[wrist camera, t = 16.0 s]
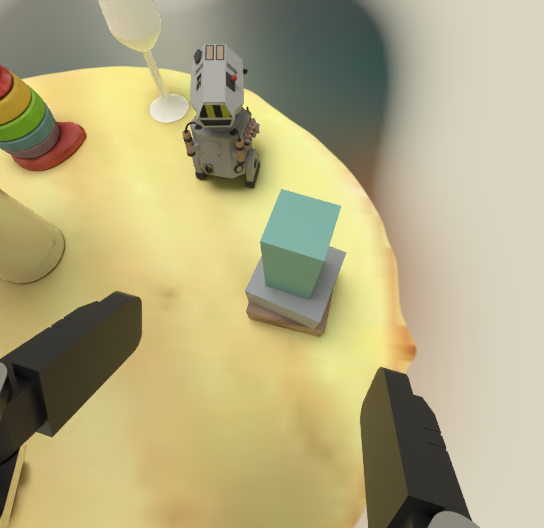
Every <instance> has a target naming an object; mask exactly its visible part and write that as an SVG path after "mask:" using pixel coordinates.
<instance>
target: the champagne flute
mask: <svg viewBox="0 0 544 528" xmlns="http://www.w3.org/2000/svg"><path fill="white" fill-rule="evenodd" d="M98 1H99V4H100V6H101V9H102V11H103V14H104V17H105V19H106V22H107V24H108V27H109V29H110V31H111V33H112V34H113V35H114V37H115V38H117V39H118V40H119V41H121V43H123V44H125V45H126V46H128V47H130V48H132V49H135V50H137V51H140V52H143V55H144V57H145V59H146V62H147V64H148V67H149V69H150V72H151V74H152V76H153V79H154V81H155V84H156V86H157V89H158V91H159V93H160V97H158V98H156V99H155V100H154V101H153V102H152V104H151V106H150V115H151V116H152V118H154V119H155V120H157V121H159V122H163V123H170V122H174V121H177V120H179V119H181V118H182V117H184V115H185V114H186V113H187V111H188V108H189V104H188V101H187V100H186V99H185V98H184V97H183V96H181V95H178V94H167V91H166V89H165V86H164V84H163V81H162V78H161V76H160V73H159V71H158V68H157V65H156V63H155V60H154V58H153V55H152V52H151V50H150V49H152V47H153V46H154V44H155V43H156V41H157V39H158V37H159V34H160V30H161V16H160V14H159V11H158V9H157V6H156V4H155V1H154V0H98Z"/></svg>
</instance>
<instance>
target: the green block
mask: <svg viewBox="0 0 544 528" xmlns="http://www.w3.org/2000/svg"><path fill="white" fill-rule="evenodd" d="M340 208H341V206H339V205H336V204H332V203H329V202H325V201H322V200H318V199H315V198H311V197H308V196H304V195H301V194H297V193H294V192H290V191H287V190H283V189H281V191H280V194H279V196H278V199H277V201H276V204H275V206H274V209H273V211H272V213H271V216H270V218H269V221H268V223H267V226H266V228H265V231H264V233H263V236H262V238H261V241H260V243H261V252H262V261H263V270H264V279H265V285H267V286H270V287H273V288H276V289H279V290H282V291H285V292H288V293H291V294H294V295H297V296H300V297H303V298H306V299H309V298H310V296H311V293H312V291H313V288H314V286H315V283H316V281H317V278H318V275H319V273H320V270H321V268H322V265H323V263H324V260H325V257H326V254H327V250H328V247H329V244H330V241H331V237H332V234H333V231H334V228H335V224H336V221H337V218H338V215H339V211H340Z"/></svg>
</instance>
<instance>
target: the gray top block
mask: <svg viewBox="0 0 544 528" xmlns="http://www.w3.org/2000/svg"><path fill="white" fill-rule="evenodd" d="M345 255H346V252H343V251H341V250H338V249H336V248H333V247H330V246H329V247H328V250H327V254H326V257H325V260H324V263H323V265H322V268H321V270H320V273H319V275H318V278H317V281H316V283H315V286H314V288H313V291H312V293H311V296H310V298H309V299H306V298H303V297H300V296H297V295H294V294H291V293H288V292H285V291H282V290H279V289H276V288H273V287H270V286H267V285H265V279H264V270H263V261H262V257H261V259H260V261H259V263H258V265H257V267H256V269H255V271H254V273H253V275H252V278H251V280H250V282H249V284H248V286H247V288H246V290H245V292H246V295H247V298H248V301H249V302H251V303H253V304H256V305H258V306H260V307H263V308H265V309H267V310H270V311H272V312H274V313H277V314H279V315H281V316H284V317H286V318H288V319H291V320H293V321H295V322H298V323H300V324H302V325H304V326H307V327H309V328H311V329H315V328H316V327H317V326H318V325H319V323H320V321H321V319H322V316H323V313H324V311H325V308H326V305H327V303H328V300H329V297H330V295H331V292H332V289H333V287H334V284H335V281H336V279H337V276H338V273H339V271H340V268H341V266H342V263H343V260H344V258H345Z"/></svg>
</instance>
